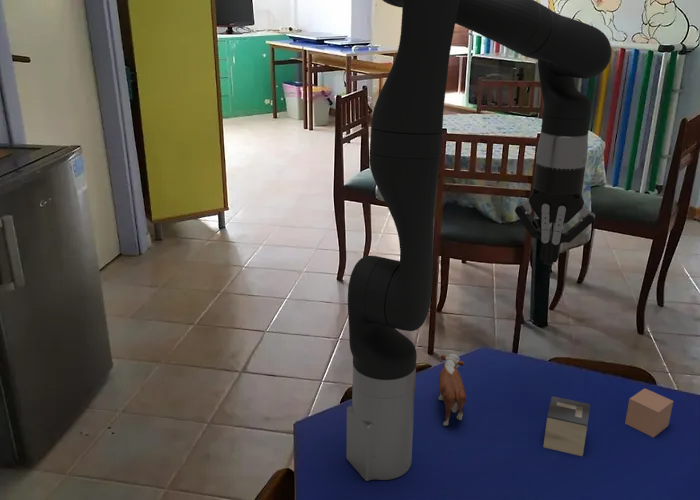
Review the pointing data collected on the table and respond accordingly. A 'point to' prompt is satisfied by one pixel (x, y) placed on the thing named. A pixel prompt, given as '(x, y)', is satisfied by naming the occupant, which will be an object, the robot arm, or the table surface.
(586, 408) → the oak block
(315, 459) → the table surface
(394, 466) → the robot arm
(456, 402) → the bull figurine
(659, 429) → the terracotta block
